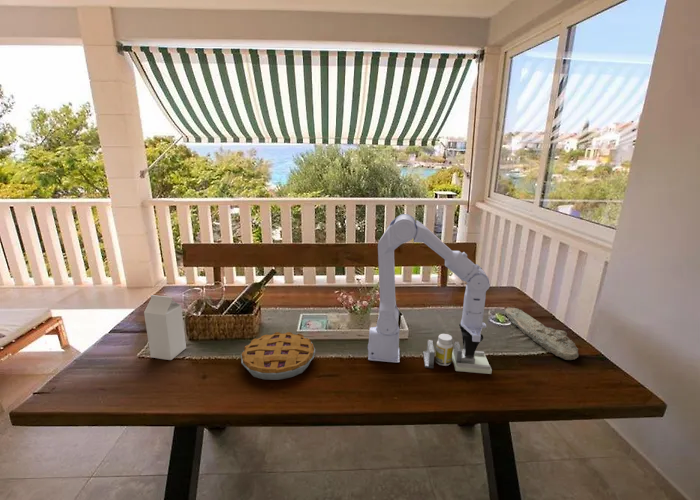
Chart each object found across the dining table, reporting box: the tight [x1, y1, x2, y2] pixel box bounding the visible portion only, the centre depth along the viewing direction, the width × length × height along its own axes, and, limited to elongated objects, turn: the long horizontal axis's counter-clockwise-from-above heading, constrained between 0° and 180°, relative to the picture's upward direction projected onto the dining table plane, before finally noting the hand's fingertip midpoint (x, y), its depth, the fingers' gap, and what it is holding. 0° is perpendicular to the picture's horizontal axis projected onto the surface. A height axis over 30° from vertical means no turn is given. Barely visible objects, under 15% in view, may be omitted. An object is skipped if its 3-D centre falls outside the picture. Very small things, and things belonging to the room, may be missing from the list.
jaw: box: [422, 339, 436, 369], centre depth 107 cm, size 2×8×5 cm, turn 173°
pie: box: [240, 331, 316, 381], centre depth 105 cm, size 22×22×5 cm
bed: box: [452, 348, 493, 375], centre depth 106 cm, size 10×9×2 cm
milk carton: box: [143, 294, 187, 361], centre depth 107 cm, size 7×7×19 cm
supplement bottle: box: [434, 333, 454, 367], centre depth 106 cm, size 5×5×8 cm
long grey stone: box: [503, 306, 579, 361], centre depth 124 cm, size 35×5×10 cm
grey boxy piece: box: [453, 340, 475, 364], centre depth 105 cm, size 5×6×6 cm
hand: (468, 351), depth 105 cm, fingers closed on grey boxy piece, 3 cm apart
